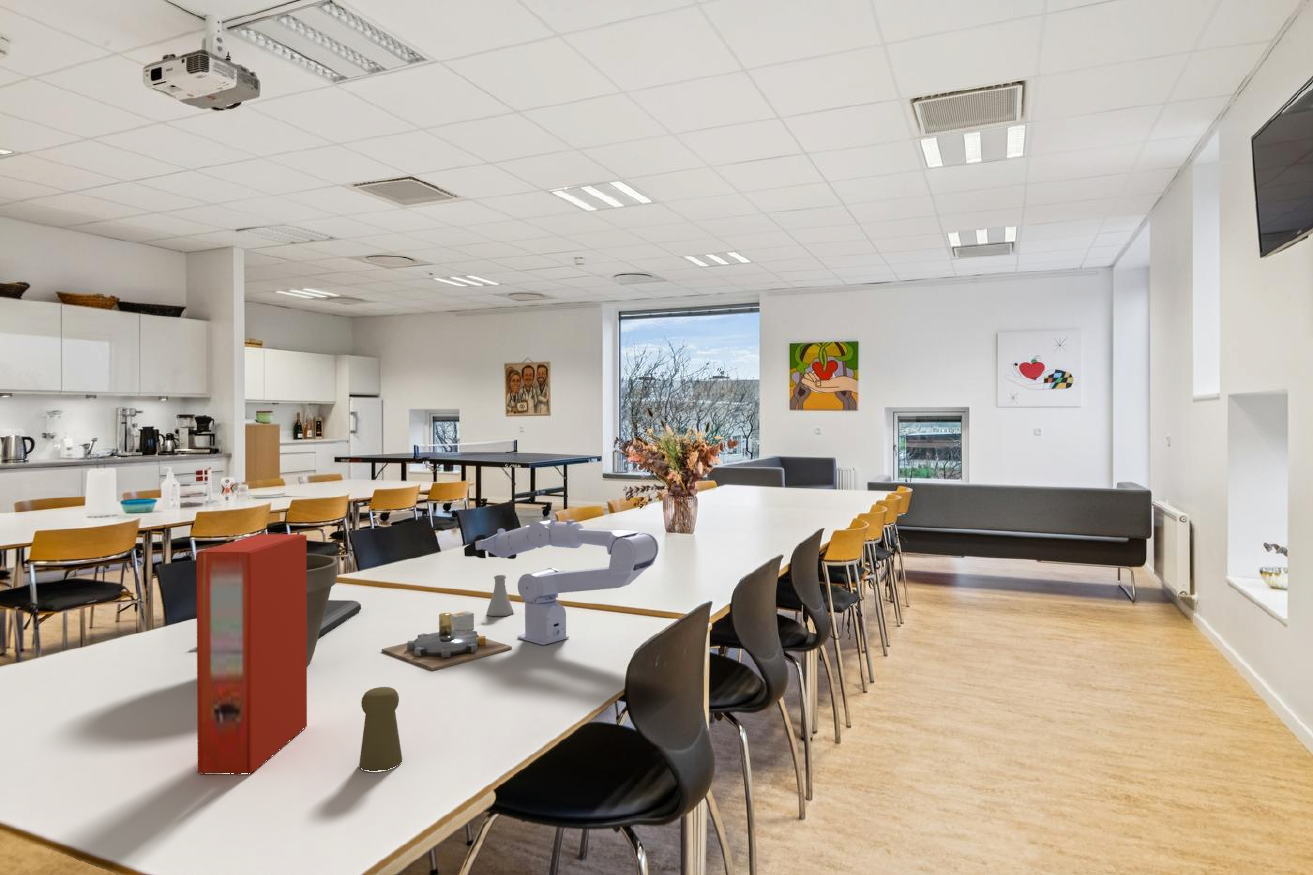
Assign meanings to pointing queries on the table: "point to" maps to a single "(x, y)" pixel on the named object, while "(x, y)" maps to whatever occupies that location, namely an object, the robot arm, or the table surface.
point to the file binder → (250, 650)
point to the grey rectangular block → (463, 621)
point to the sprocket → (446, 640)
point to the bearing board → (439, 662)
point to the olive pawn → (380, 730)
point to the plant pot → (318, 595)
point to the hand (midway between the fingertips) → (477, 552)
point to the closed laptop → (338, 613)
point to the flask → (499, 599)
